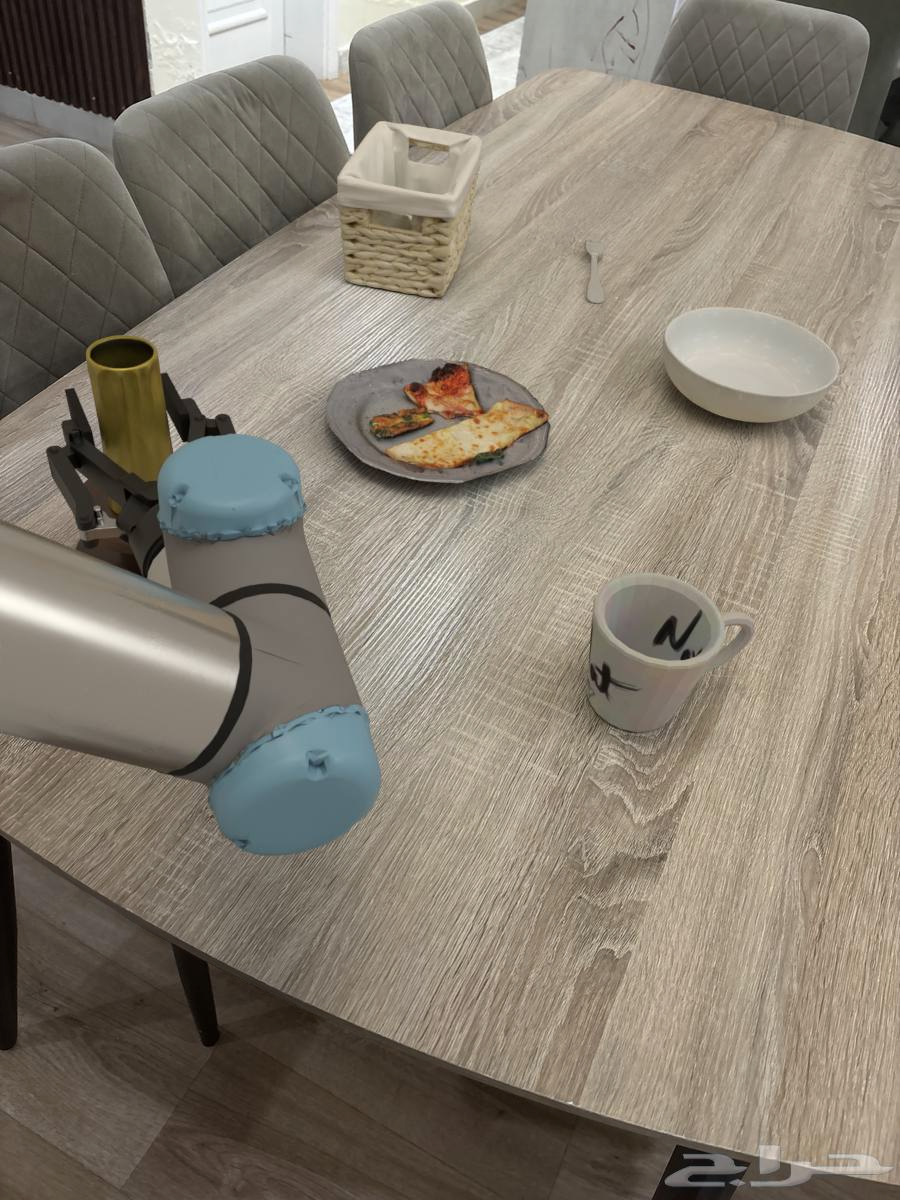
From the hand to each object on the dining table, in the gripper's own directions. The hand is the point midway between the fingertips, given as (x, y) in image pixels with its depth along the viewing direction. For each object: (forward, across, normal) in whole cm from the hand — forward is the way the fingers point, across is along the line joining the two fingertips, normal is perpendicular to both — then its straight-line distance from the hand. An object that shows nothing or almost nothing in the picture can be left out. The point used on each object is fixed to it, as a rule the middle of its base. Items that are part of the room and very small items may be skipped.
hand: (119, 394), depth 79 cm
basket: (+45, +50, -15) cm, 69 cm away
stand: (-5, 0, -15) cm, 16 cm away
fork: (+35, +75, -15) cm, 84 cm away
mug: (-36, +34, -15) cm, 52 cm away
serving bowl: (-1, +73, -15) cm, 74 cm away
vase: (-5, 0, -8) cm, 9 cm away
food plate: (+5, +34, -15) cm, 38 cm away
